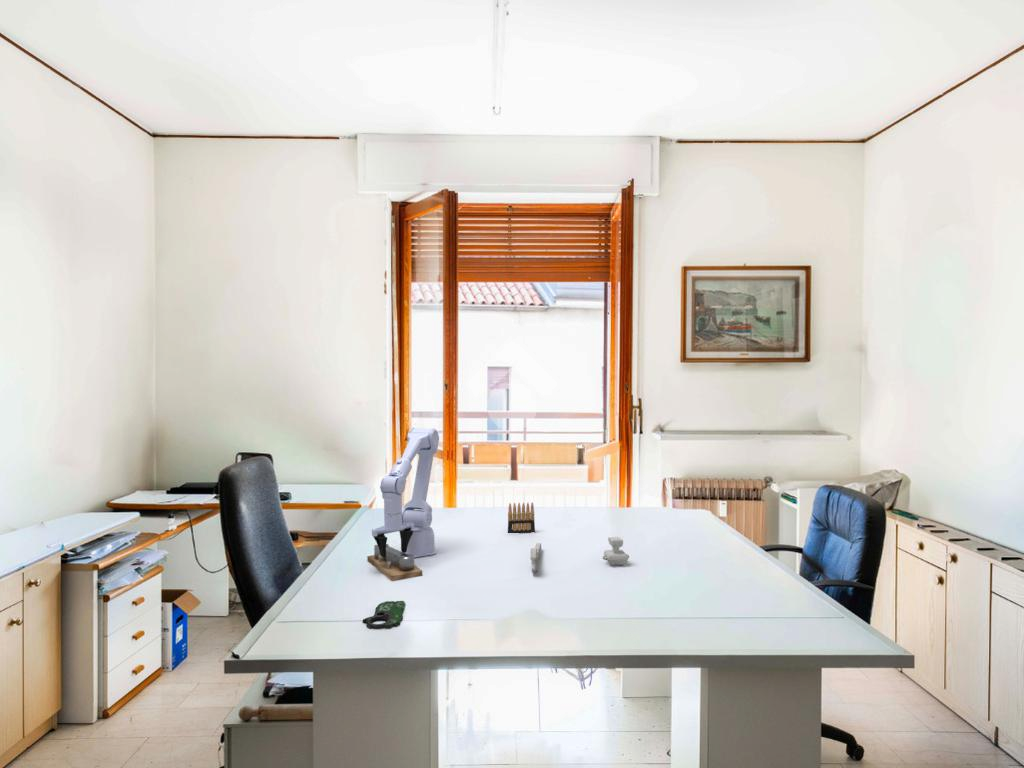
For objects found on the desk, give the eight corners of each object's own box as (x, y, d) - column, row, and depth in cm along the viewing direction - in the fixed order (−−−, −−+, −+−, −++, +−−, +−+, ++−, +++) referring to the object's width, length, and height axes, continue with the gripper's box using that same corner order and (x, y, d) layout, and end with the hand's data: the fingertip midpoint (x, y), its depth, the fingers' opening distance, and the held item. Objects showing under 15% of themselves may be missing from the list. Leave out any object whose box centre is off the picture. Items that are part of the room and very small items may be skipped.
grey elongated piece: (384, 554, 214) (384, 542, 214) (417, 569, 198) (416, 556, 198) (371, 557, 211) (371, 545, 211) (403, 572, 195) (403, 559, 195)
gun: (370, 601, 172) (406, 600, 173) (370, 606, 172) (406, 605, 173) (359, 625, 156) (399, 624, 157) (359, 631, 156) (400, 629, 157)
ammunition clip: (534, 531, 249) (534, 501, 248) (535, 532, 247) (534, 502, 246) (507, 532, 247) (507, 502, 247) (508, 533, 246) (507, 503, 245)
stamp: (604, 567, 203) (604, 541, 203) (600, 561, 210) (600, 536, 210) (632, 566, 204) (632, 540, 204) (626, 560, 211) (626, 535, 211)
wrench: (541, 558, 223) (535, 576, 194) (536, 558, 223) (530, 576, 194) (541, 535, 224) (535, 550, 194) (536, 535, 224) (530, 549, 194)
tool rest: (395, 555, 217) (395, 545, 217) (422, 575, 197) (422, 564, 197) (367, 560, 212) (367, 550, 212) (391, 581, 192) (391, 569, 192)
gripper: (406, 507, 212) (406, 547, 212) (367, 514, 203) (367, 555, 203) (417, 510, 207) (417, 551, 207) (377, 518, 197) (378, 560, 197)
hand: (393, 554), depth 205 cm, fingers open, 7 cm apart
